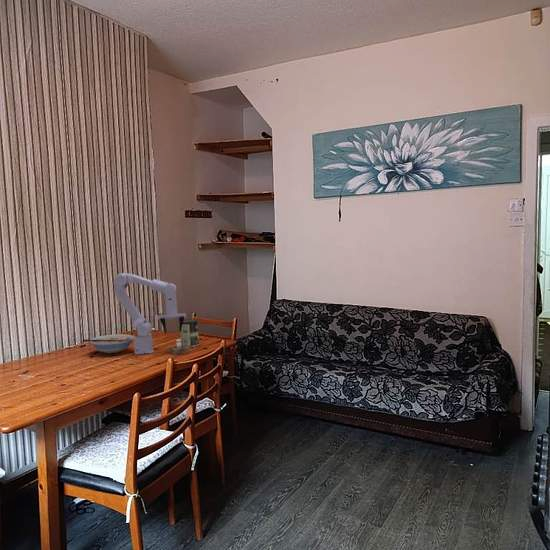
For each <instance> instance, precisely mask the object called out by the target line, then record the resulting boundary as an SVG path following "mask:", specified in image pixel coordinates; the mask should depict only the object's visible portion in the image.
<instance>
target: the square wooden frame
mask: <svg viewBox="0 0 550 550" xmlns="http://www.w3.org/2000/svg"><path fill="white" fill-rule="evenodd" d="M168 347H169V348H168V349H169V350H168V351H169V353H170V354H171V353H172V354H171V355H173V356H174V355H175V356H180V355H179V354H181V355H188V354H190V347H187V346H185V345H181V348H177V345H173V346H168ZM187 353H188V354H187Z"/></svg>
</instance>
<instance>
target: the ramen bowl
mask: <svg viewBox="0 0 550 550" xmlns="http://www.w3.org/2000/svg"><path fill="white" fill-rule="evenodd" d="M134 337H135V336H134V335H132V334H124V333H123V334H119V333H118V334H107V335H105V334H104V335H100V336H96V337H94V338H93V337H92V338H91V339H82V340H81V341H82V342H84V343H85V342H86V343H87V342H90V344H91V345H92V347H93V348H94V349H95V350H96V351H98V352H100V353H105V354H107V353H108V354H109V355H111V353H114V354H118V353H120V352H121V351H124V350H126V349H127V348H129V346H131V344H132V342H134ZM108 354H107V355H108Z"/></svg>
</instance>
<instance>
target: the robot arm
mask: <svg viewBox="0 0 550 550" xmlns="http://www.w3.org/2000/svg"><path fill="white" fill-rule="evenodd" d="M134 283H136V284H140V285H143V286H147V287H149V288H150V289H151V290H153V291H155V292H159V293H162V294H164V295H165V298H164V299H165V312H166V313H165V314H161V315H157V320H158V321H160V322H161V325H162V327H163V330H164V334H167V328H166V320H169V319H178V323H179V327H178V328H179V329H178V330H179V333H180V332H181V327H182V324H183V321H184V320H185V318H187V314H186V313H184V312H183V313H178V302H177V293H176V292H177V290H178V289H177V286H176V285H175V284H174V283H172V282H170V283H169V282H168V281H166V282H165V281H162V280H160V278H156V279H155V278H153V279H152V280H151V279H148V278H145V277H142V276H140V275H137V274H133V273H128V272H122V273H118V274H116V276H115V277H114V280H113V283H112V284H113V285H114V286H113V287H114V295H115V296H116V298H117V299H118V301H119V302H120V304H121V306H122V307H123V308H124V310H125V311H126V313H127V314H128V315H129V317H130V319H131V320H132V321H133V324H134V326H135V329H136V333H137V336H134V339H133V343H134V344H133V345H134V346H133V350H134V355H142V354H143V355H144V353H145V354H153V353H154V348H153V335H152V330H153V325H152V323H151V322H150V321H148V320H147V319H146V318H145V317H144V316H143V315H142V314H141V312H140V310H138V308H137V307H136V305H135V303H134V302H133V301H132V299H131V298H130V296H129V295H128V293H127V288H128V285H129V284H134Z"/></svg>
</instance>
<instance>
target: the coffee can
mask: <svg viewBox="0 0 550 550" xmlns="http://www.w3.org/2000/svg"><path fill="white" fill-rule="evenodd" d="M198 322H199V320H198V319H195V318H188V319H185V318H184V321H183V324H182V327H181V332H180V331H179V335H180V336H179V339H181V345H185V346H187V347H189V348H195V347H198V346H200V336H199V324H198Z"/></svg>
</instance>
